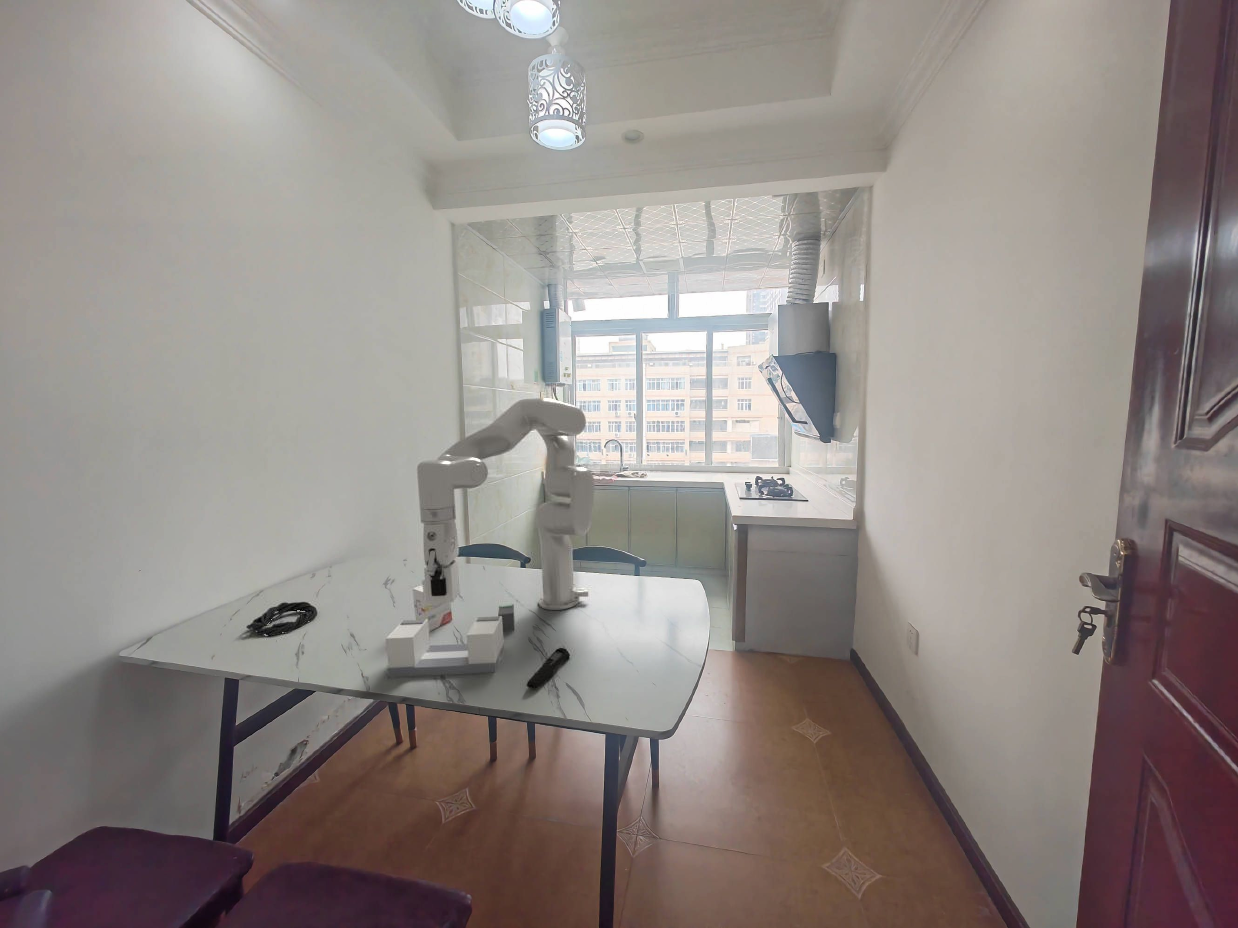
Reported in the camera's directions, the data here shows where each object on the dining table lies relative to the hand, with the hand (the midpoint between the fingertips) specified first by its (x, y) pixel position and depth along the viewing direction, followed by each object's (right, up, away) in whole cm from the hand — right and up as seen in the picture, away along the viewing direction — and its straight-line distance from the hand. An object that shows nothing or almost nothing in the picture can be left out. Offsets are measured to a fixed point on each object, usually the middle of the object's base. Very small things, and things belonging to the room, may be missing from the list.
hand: (443, 589), depth 107 cm
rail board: (+1, -18, +2) cm, 18 cm away
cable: (-55, -17, +27) cm, 64 cm away
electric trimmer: (+25, -18, -3) cm, 31 cm away
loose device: (+10, -16, +20) cm, 28 cm away
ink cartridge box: (-11, -16, +23) cm, 30 cm away
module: (0, -2, 0) cm, 2 cm away
